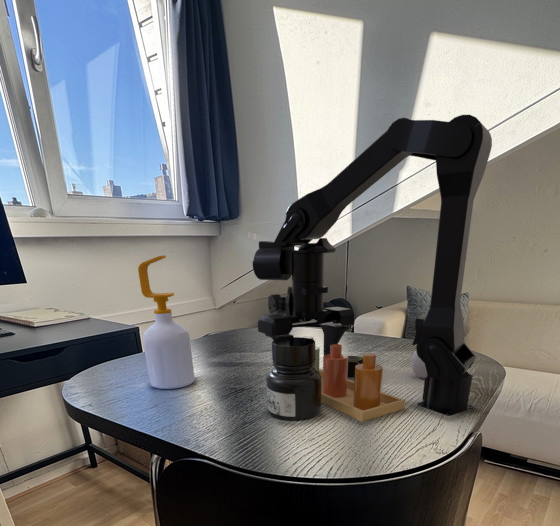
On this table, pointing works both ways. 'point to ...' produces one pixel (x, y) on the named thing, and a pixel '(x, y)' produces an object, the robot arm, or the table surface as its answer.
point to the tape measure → (353, 364)
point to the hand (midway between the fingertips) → (307, 365)
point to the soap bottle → (165, 341)
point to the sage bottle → (316, 355)
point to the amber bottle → (367, 383)
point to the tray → (346, 406)
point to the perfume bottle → (419, 365)
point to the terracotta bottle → (335, 372)
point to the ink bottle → (294, 380)
